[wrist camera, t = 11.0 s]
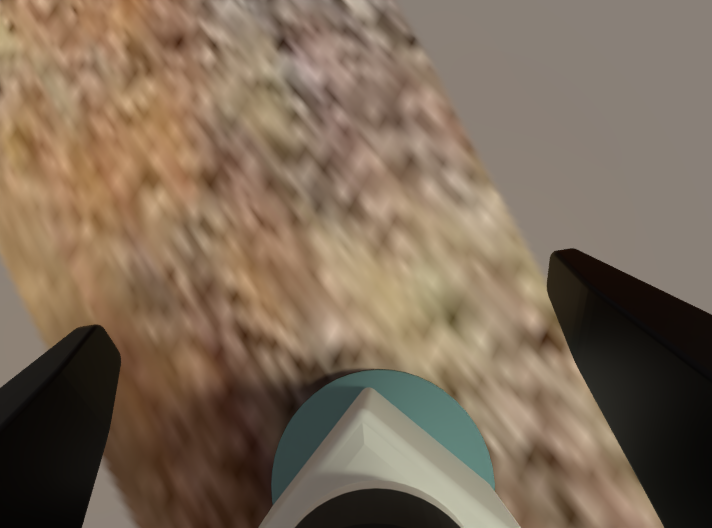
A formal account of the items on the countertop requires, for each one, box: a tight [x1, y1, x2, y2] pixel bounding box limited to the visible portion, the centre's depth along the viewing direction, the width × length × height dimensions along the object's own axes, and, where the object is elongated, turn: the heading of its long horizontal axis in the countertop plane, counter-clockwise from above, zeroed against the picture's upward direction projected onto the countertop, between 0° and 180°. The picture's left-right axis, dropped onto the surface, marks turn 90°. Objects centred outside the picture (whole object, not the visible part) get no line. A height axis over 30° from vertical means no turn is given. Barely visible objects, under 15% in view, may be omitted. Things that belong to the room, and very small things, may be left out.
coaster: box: [271, 369, 495, 505], centre depth 22 cm, size 10×10×1 cm
